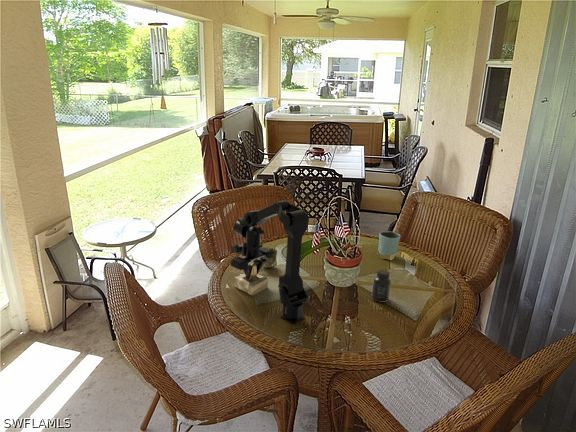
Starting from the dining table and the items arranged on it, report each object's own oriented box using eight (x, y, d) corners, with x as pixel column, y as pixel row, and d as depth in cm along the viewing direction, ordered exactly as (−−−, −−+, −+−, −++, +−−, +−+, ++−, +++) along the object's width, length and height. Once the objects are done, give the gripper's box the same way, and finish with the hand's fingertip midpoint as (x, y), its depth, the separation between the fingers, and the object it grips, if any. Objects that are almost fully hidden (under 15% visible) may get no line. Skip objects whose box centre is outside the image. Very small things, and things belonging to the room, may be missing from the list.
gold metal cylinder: (258, 280, 170) (259, 265, 168) (251, 283, 167) (252, 268, 165) (251, 277, 172) (251, 261, 170) (244, 280, 170) (244, 264, 167)
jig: (267, 287, 171) (268, 277, 170) (252, 295, 164) (252, 284, 163) (250, 279, 177) (250, 269, 175) (234, 286, 170) (234, 275, 169)
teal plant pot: (376, 259, 206) (379, 236, 202) (375, 251, 215) (379, 229, 211) (397, 262, 205) (401, 239, 201) (395, 253, 214) (399, 232, 210)
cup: (274, 271, 185) (275, 255, 183) (258, 269, 187) (258, 252, 184) (277, 264, 192) (278, 248, 190) (262, 262, 194) (263, 246, 191)
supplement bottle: (391, 299, 169) (395, 272, 165) (382, 305, 164) (386, 277, 161) (376, 292, 174) (380, 266, 170) (367, 298, 169) (371, 271, 165)
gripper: (255, 230, 176) (253, 264, 181) (221, 241, 162) (220, 277, 167) (274, 238, 169) (272, 272, 174) (241, 250, 156) (240, 287, 161)
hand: (251, 277), depth 169 cm, fingers closed on gold metal cylinder, 4 cm apart
